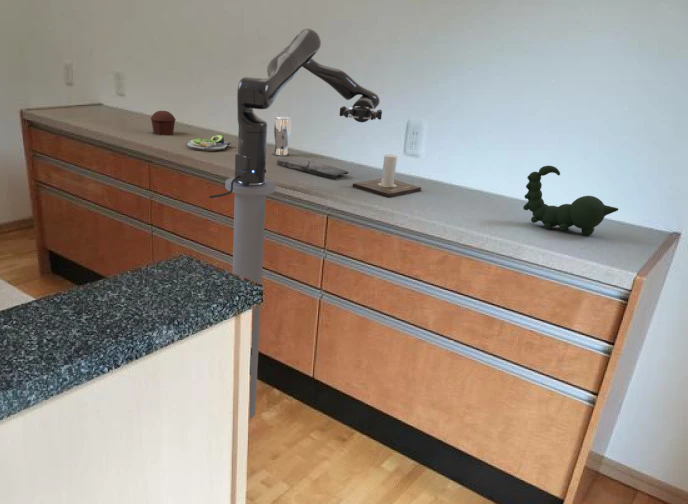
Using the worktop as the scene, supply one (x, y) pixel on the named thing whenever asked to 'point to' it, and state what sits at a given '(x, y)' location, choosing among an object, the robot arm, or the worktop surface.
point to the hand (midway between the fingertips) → (359, 115)
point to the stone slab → (312, 167)
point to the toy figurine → (564, 207)
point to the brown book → (386, 188)
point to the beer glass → (282, 135)
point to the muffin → (163, 123)
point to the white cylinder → (389, 170)
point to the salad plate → (209, 144)
